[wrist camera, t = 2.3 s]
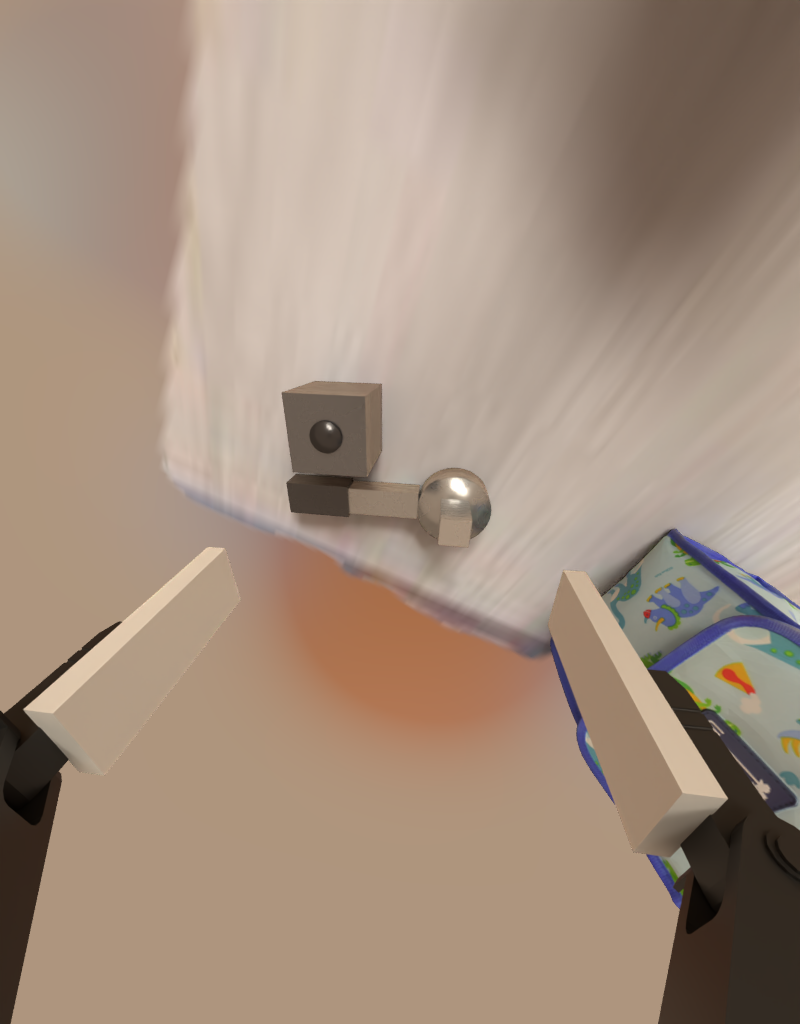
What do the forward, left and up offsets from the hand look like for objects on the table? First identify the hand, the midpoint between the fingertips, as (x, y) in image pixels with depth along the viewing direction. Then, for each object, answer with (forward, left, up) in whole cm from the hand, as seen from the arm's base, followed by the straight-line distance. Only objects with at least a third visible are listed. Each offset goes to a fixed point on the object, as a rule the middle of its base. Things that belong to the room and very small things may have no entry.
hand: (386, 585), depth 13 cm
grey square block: (-1, -8, -25) cm, 26 cm away
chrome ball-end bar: (+8, -3, -25) cm, 27 cm away
